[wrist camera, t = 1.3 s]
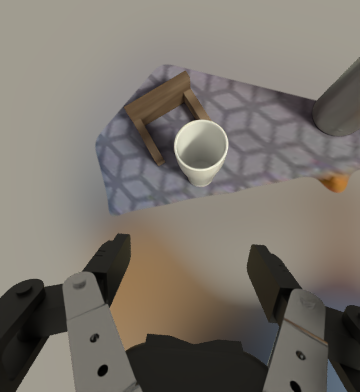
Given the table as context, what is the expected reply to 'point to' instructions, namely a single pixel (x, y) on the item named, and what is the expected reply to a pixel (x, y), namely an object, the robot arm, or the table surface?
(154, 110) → the walnut dock
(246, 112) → the table surface
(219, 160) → the white cup
